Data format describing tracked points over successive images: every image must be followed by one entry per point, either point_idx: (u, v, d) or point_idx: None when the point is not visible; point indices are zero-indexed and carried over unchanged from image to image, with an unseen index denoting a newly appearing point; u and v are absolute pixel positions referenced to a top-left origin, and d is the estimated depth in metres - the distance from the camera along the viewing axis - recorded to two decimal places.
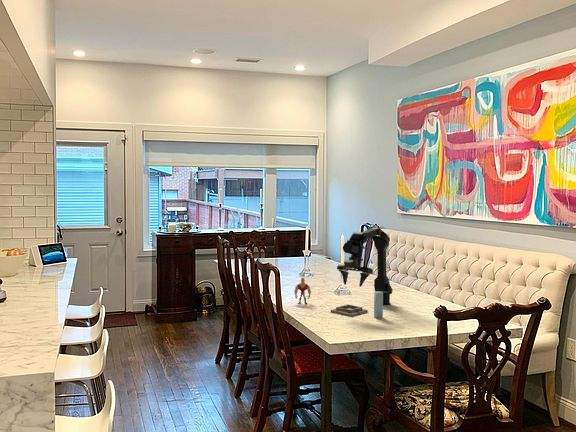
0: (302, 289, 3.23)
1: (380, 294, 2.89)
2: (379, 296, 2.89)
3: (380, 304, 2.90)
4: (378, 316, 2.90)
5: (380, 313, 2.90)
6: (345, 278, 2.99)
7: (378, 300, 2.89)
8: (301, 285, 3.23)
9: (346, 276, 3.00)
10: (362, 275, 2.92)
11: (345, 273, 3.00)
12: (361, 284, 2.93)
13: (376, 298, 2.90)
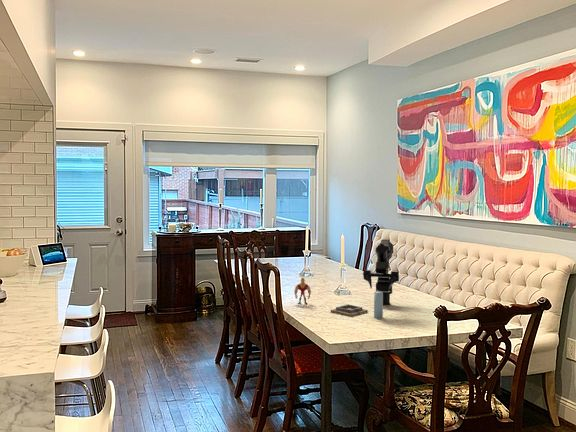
0: (302, 289, 3.23)
1: (380, 294, 2.89)
2: (379, 296, 2.89)
3: (380, 304, 2.90)
4: (378, 316, 2.90)
5: (380, 313, 2.90)
6: (371, 283, 3.02)
7: (378, 300, 2.89)
8: (301, 285, 3.23)
9: (371, 282, 3.04)
10: (392, 278, 3.00)
11: None
12: (389, 287, 2.99)
13: (376, 298, 2.90)
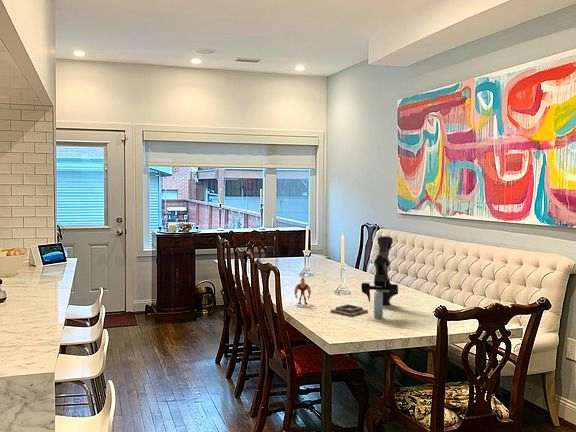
0: (302, 289, 3.23)
1: (380, 294, 2.89)
2: (379, 296, 2.89)
3: (380, 304, 2.90)
4: (378, 316, 2.90)
5: (380, 313, 2.90)
6: (369, 296, 2.95)
7: (378, 300, 2.89)
8: (301, 285, 3.23)
9: None
10: (391, 291, 2.92)
11: (369, 291, 2.96)
12: (388, 300, 2.91)
13: (376, 298, 2.90)
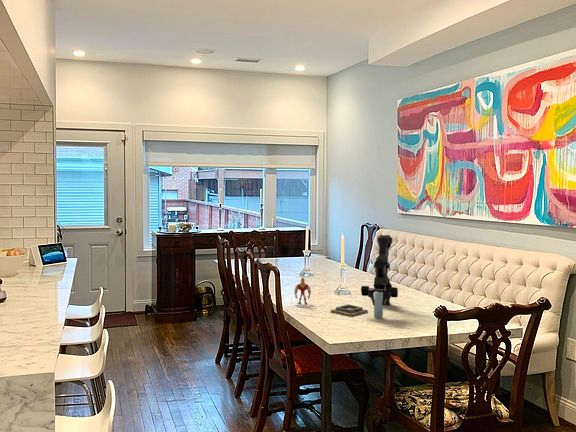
0: (302, 289, 3.23)
1: (380, 294, 2.89)
2: (379, 296, 2.89)
3: (380, 304, 2.90)
4: (378, 316, 2.90)
5: (380, 313, 2.90)
6: (373, 299, 2.93)
7: (378, 300, 2.89)
8: (301, 285, 3.23)
9: (373, 298, 2.94)
10: (386, 294, 2.92)
11: (373, 295, 2.95)
12: (384, 303, 2.90)
13: (376, 298, 2.90)
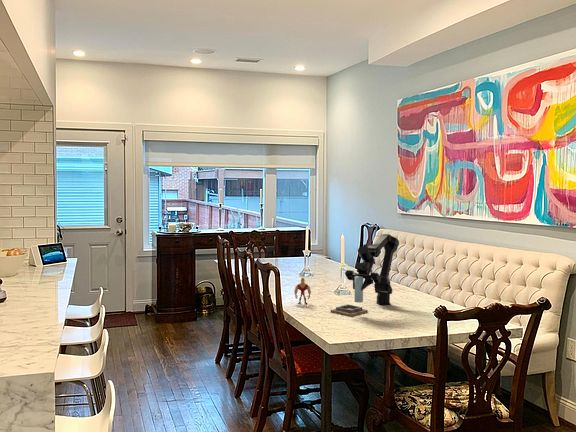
0: (302, 289, 3.23)
1: (359, 279, 2.95)
2: (358, 280, 2.95)
3: (359, 288, 2.95)
4: (357, 300, 2.96)
5: (359, 297, 2.96)
6: None
7: (357, 284, 2.95)
8: (301, 285, 3.23)
9: None
10: (366, 279, 2.96)
11: None
12: (363, 288, 2.95)
13: (355, 282, 2.96)
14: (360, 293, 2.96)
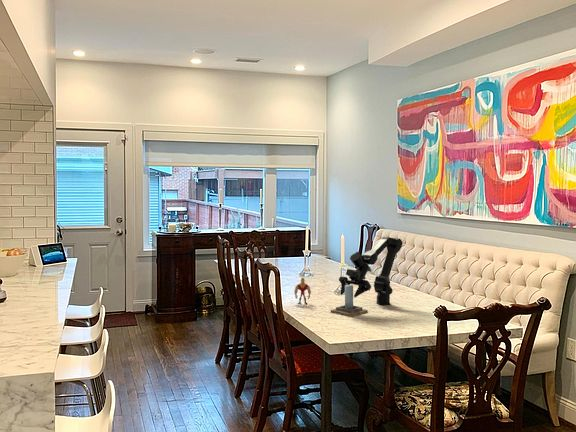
0: (302, 289, 3.23)
1: (348, 287, 3.01)
2: (347, 289, 3.01)
3: (348, 297, 3.01)
4: (346, 308, 3.02)
5: (348, 306, 3.01)
6: (343, 289, 3.07)
7: (346, 293, 3.01)
8: (301, 285, 3.23)
9: None
10: (360, 286, 2.99)
11: None
12: (356, 295, 2.99)
13: (345, 291, 3.02)
14: (349, 301, 3.01)
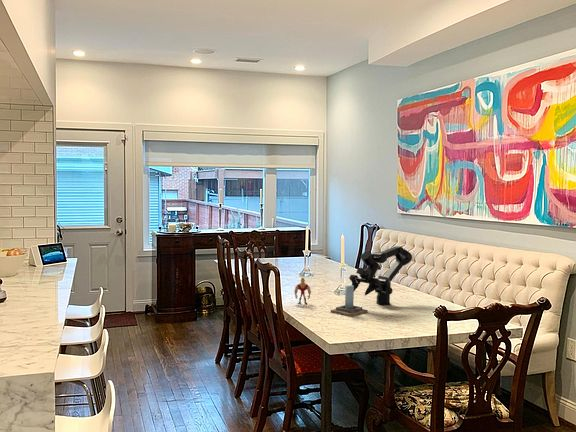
0: (302, 289, 3.23)
1: (349, 287, 3.00)
2: (348, 289, 3.01)
3: (349, 297, 3.01)
4: (347, 308, 3.02)
5: (348, 306, 3.01)
6: (354, 287, 3.13)
7: (347, 293, 3.01)
8: (301, 285, 3.23)
9: (355, 286, 3.14)
10: (370, 284, 3.05)
11: (355, 283, 3.14)
12: (366, 293, 3.05)
13: (345, 291, 3.02)
14: (350, 302, 3.01)
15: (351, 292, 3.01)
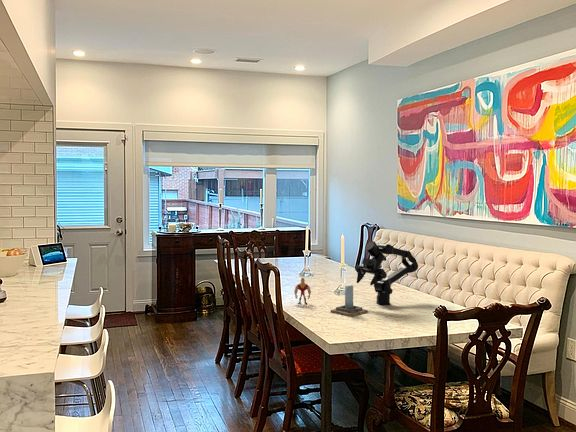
0: (302, 289, 3.23)
1: (348, 287, 3.01)
2: (347, 289, 3.01)
3: (348, 297, 3.01)
4: (347, 308, 3.02)
5: (348, 306, 3.01)
6: (359, 278, 3.17)
7: (346, 293, 3.01)
8: (301, 285, 3.23)
9: (361, 277, 3.18)
10: (375, 274, 3.09)
11: (361, 274, 3.18)
12: (372, 283, 3.09)
13: (345, 291, 3.02)
14: (349, 301, 3.01)
15: (351, 292, 3.01)
